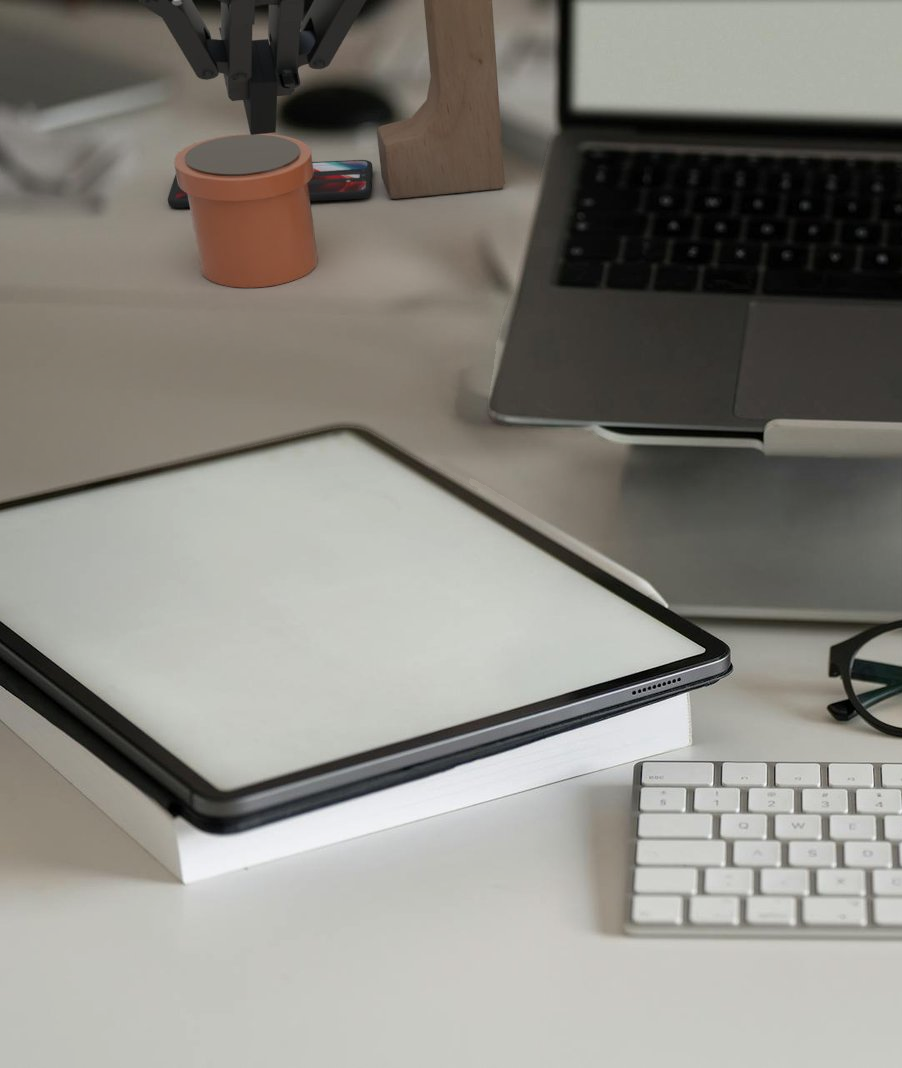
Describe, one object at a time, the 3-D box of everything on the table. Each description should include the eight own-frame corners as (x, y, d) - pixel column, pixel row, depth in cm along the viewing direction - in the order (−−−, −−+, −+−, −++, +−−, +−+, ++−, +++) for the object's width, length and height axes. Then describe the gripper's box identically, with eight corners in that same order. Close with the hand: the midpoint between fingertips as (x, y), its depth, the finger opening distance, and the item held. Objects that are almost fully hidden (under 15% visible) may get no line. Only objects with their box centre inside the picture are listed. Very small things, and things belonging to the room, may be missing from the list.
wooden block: (389, 201, 131) (363, -38, 121) (381, 180, 134) (355, -54, 124) (505, 189, 133) (489, -46, 123) (494, 169, 137) (478, -60, 127)
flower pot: (178, 290, 116) (157, 177, 112) (211, 238, 124) (193, 130, 119) (311, 291, 117) (295, 178, 112) (336, 239, 124) (322, 131, 120)
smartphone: (176, 167, 133) (372, 158, 136) (178, 175, 134) (373, 166, 136) (165, 202, 127) (370, 192, 130) (166, 210, 128) (371, 200, 130)
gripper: (136, -34, 79) (158, 181, 101) (414, -51, 84) (378, 158, 106) (106, -176, 81) (134, 67, 102) (381, -186, 85) (353, 48, 107)
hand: (258, 113), depth 104 cm, fingers closed
